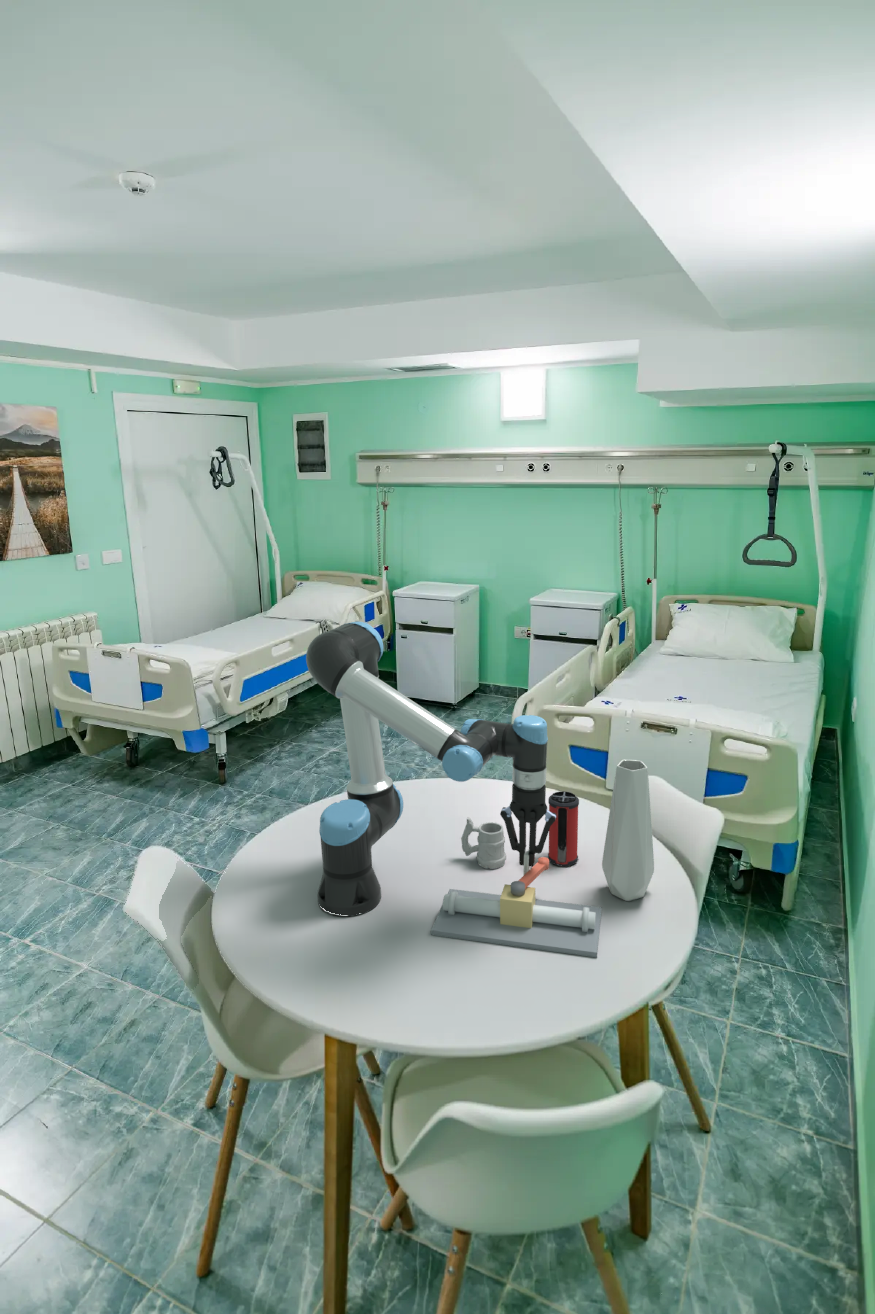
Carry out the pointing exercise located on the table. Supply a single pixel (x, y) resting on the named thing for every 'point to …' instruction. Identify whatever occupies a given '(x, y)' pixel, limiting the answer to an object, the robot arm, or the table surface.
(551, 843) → the speaker
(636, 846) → the vase
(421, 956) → the table surface
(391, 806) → the robot arm
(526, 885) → the lever
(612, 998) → the table surface
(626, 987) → the table surface
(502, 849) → the mug
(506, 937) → the grey base plate
